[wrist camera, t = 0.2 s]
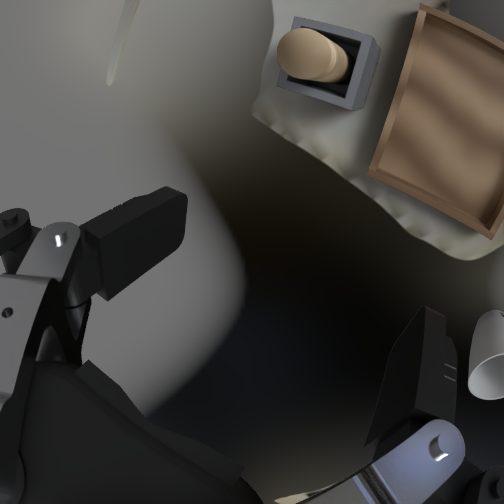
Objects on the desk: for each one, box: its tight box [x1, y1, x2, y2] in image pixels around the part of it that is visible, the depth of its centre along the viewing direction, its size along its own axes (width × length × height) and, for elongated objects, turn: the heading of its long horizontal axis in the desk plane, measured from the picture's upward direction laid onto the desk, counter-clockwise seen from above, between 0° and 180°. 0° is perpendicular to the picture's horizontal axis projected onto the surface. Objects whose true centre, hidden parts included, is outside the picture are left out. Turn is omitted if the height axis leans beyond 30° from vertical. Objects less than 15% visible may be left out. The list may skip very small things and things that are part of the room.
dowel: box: [277, 28, 356, 85], centre depth 24 cm, size 4×4×13 cm
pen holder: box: [277, 16, 381, 110], centre depth 27 cm, size 7×7×8 cm
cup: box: [468, 310, 504, 400], centre depth 30 cm, size 8×8×10 cm
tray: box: [366, 3, 504, 240], centre depth 25 cm, size 20×16×3 cm
